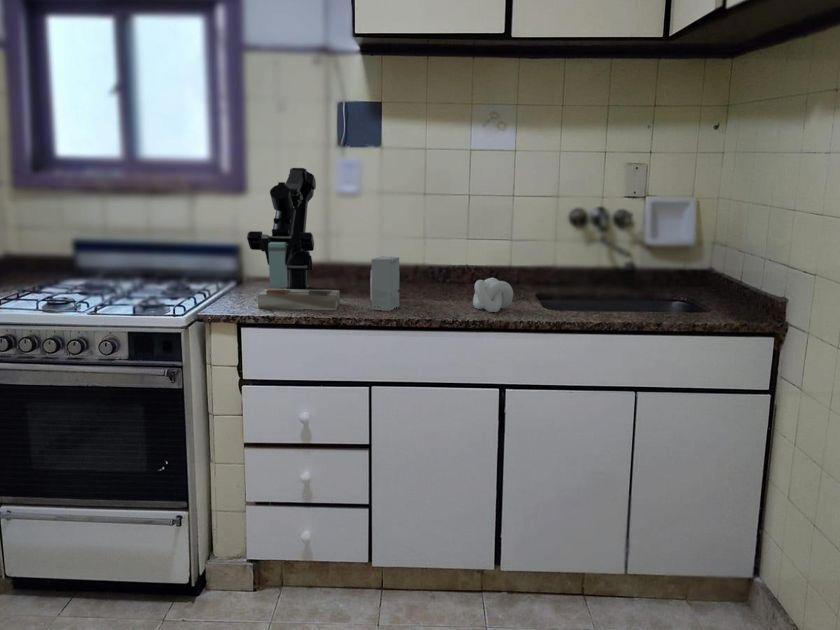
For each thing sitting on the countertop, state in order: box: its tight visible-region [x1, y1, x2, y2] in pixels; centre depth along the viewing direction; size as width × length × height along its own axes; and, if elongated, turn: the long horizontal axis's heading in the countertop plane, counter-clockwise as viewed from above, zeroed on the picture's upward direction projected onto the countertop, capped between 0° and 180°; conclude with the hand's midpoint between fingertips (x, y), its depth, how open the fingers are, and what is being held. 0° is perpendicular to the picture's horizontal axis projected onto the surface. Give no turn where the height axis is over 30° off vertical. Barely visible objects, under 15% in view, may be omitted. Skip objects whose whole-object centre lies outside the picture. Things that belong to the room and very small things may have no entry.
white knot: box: [472, 277, 514, 313], centre depth 219 cm, size 11×12×9 cm
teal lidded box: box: [268, 242, 288, 288], centre depth 219 cm, size 5×5×12 cm
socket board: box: [257, 288, 341, 311], centre depth 221 cm, size 10×22×5 cm, turn 89°
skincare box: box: [371, 256, 400, 312], centre depth 219 cm, size 8×6×15 cm
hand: (277, 264), depth 218 cm, fingers closed on teal lidded box, 5 cm apart
